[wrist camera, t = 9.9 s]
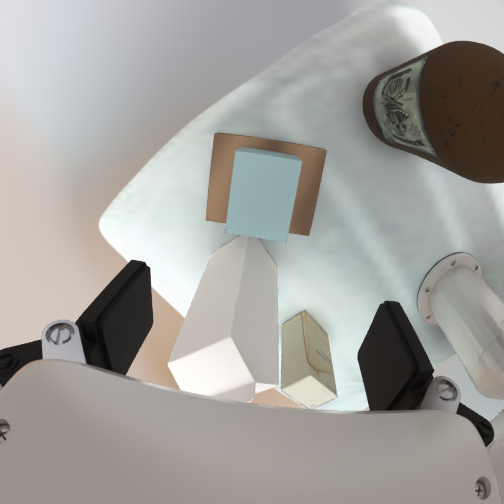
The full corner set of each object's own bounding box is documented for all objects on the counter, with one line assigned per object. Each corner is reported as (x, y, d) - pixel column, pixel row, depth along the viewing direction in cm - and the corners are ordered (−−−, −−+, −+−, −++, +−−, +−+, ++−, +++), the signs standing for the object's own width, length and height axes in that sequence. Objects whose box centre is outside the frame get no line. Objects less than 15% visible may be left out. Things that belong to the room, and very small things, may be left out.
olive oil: (428, 70, 24) (597, 57, 1) (437, 152, 28) (603, 226, 6) (350, 66, 25) (503, -14, 3) (362, 155, 30) (528, 245, 7)
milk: (211, 252, 36) (151, 395, 16) (251, 228, 34) (221, 372, 15) (239, 287, 38) (209, 437, 18) (278, 266, 36) (279, 421, 17)
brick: (297, 155, 29) (302, 161, 24) (284, 224, 32) (286, 242, 28) (241, 146, 29) (235, 150, 24) (231, 216, 32) (225, 232, 28)
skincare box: (327, 333, 41) (340, 397, 30) (304, 347, 42) (310, 411, 31) (303, 308, 39) (312, 375, 28) (278, 324, 40) (279, 391, 30)
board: (324, 149, 30) (326, 150, 28) (307, 231, 34) (308, 235, 33) (217, 132, 30) (214, 133, 28) (208, 216, 34) (205, 220, 33)
